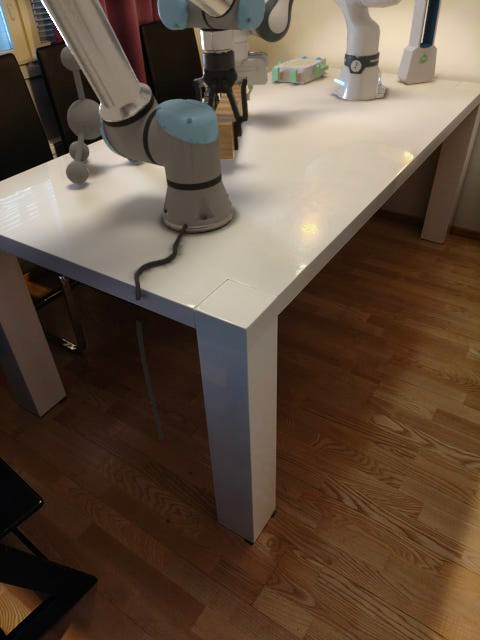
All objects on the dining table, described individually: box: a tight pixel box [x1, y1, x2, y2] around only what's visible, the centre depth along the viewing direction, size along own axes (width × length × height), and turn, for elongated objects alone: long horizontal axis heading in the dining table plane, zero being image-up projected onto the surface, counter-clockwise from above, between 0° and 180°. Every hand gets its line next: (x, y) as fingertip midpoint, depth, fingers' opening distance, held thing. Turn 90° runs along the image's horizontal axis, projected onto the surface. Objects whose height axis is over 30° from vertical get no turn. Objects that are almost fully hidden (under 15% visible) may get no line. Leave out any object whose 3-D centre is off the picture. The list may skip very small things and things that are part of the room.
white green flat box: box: [271, 55, 330, 85], centre depth 207 cm, size 26×6×20 cm
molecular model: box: [60, 45, 140, 185], centre depth 125 cm, size 24×22×30 cm
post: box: [215, 84, 248, 161], centre depth 141 cm, size 50×6×9 cm, turn 175°
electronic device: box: [397, 0, 442, 85], centre depth 186 cm, size 12×8×30 cm, turn 105°
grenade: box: [203, 83, 222, 111], centre depth 169 cm, size 7×6×10 cm
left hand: (225, 148), depth 129 cm, fingers closed on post, 6 cm apart
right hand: (236, 100), depth 156 cm, fingers closed on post, 5 cm apart
